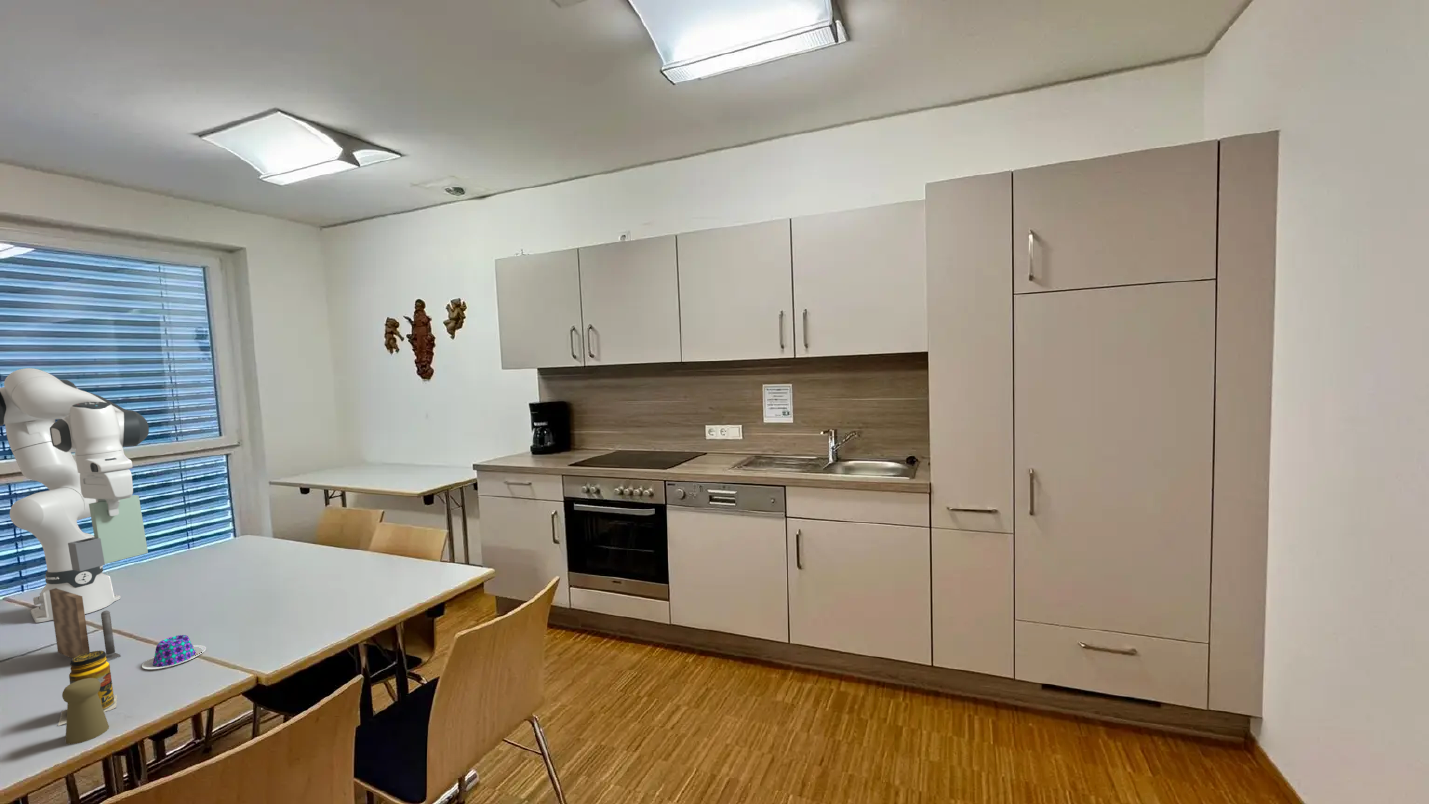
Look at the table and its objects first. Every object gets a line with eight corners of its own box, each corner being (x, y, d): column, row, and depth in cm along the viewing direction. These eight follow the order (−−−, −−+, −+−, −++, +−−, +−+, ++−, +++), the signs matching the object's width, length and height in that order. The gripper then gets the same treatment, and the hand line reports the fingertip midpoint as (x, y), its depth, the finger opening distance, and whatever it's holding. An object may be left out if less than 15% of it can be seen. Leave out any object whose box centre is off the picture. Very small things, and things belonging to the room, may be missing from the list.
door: (72, 569, 150) (61, 508, 149) (141, 551, 162) (132, 495, 161) (80, 571, 148) (69, 509, 147) (149, 553, 160) (140, 495, 159)
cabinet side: (58, 652, 155) (49, 590, 154) (85, 643, 160) (77, 582, 159) (91, 666, 146) (83, 600, 145) (120, 656, 151) (112, 592, 150)
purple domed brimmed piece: (196, 644, 157) (193, 625, 156) (214, 654, 151) (211, 634, 150) (134, 665, 147) (132, 645, 146) (151, 676, 140) (149, 655, 140)
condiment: (116, 708, 127) (109, 655, 126) (57, 726, 121) (50, 671, 120) (117, 695, 132) (110, 644, 131) (61, 712, 126) (54, 659, 125)
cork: (117, 725, 121) (110, 673, 120) (83, 744, 115) (76, 690, 114) (91, 724, 121) (84, 673, 120) (56, 744, 115) (48, 690, 114)
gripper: (68, 465, 156) (76, 516, 157) (101, 466, 147) (110, 520, 148) (100, 461, 161) (108, 510, 162) (135, 461, 152) (143, 513, 153)
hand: (110, 515), depth 155 cm, fingers closed on door, 2 cm apart
